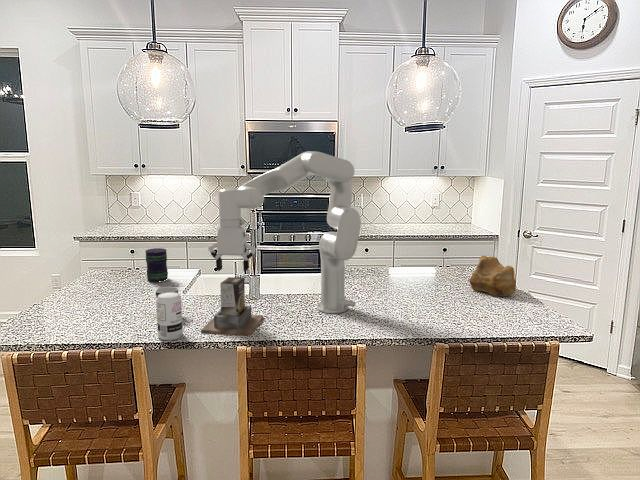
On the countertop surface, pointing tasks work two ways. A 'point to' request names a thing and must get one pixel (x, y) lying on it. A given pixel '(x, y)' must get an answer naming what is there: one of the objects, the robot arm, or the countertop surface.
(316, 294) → the countertop surface
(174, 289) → the coffee mug
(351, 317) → the countertop surface
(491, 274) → the rough brown rock
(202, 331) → the holder stand
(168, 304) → the supplement can
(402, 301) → the countertop surface
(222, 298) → the coffee box
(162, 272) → the storage jar
